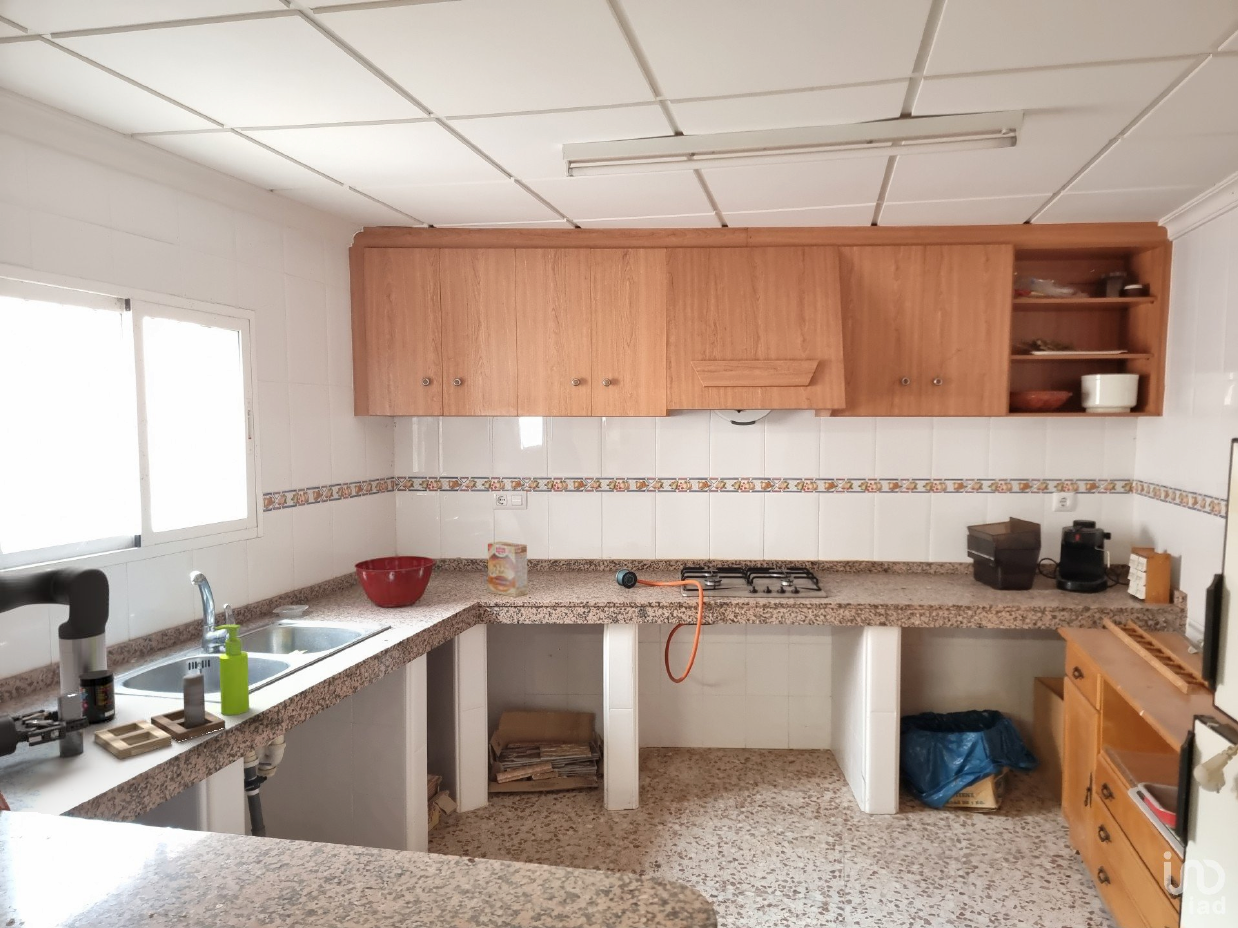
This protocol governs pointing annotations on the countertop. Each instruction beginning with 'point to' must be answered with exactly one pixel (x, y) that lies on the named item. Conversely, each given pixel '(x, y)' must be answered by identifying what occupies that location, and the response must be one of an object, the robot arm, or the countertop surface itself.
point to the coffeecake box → (507, 568)
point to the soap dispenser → (233, 675)
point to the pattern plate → (189, 713)
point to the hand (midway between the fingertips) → (80, 716)
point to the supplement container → (97, 695)
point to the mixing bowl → (395, 579)
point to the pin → (68, 711)
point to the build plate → (132, 738)
